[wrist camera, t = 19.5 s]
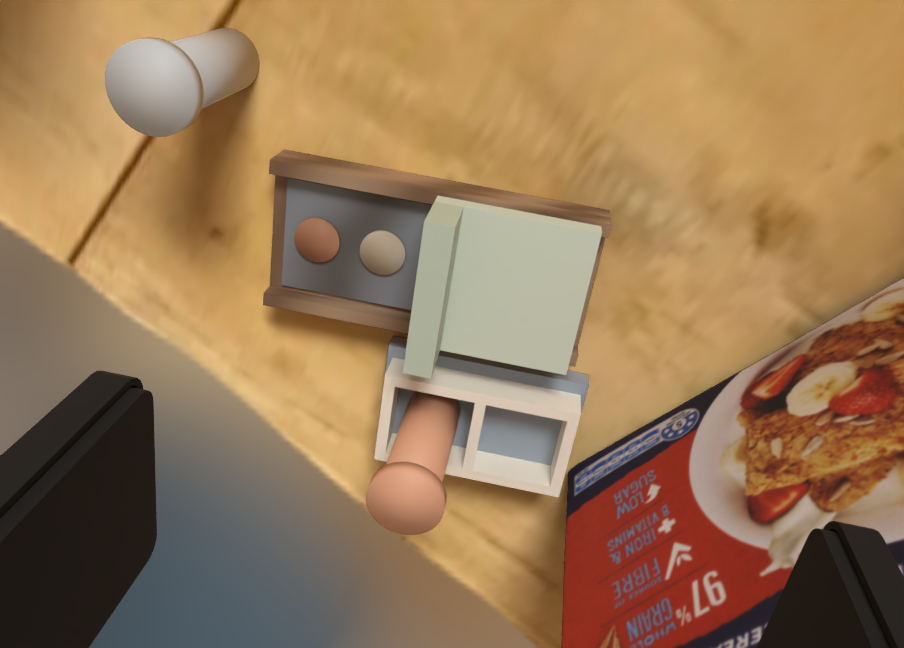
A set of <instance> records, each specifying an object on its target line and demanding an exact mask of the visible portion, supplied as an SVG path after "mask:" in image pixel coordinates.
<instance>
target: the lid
mask: <svg viewBox="0 0 904 648" xmlns="http://www.w3.org/2000/svg"><path fill="white" fill-rule="evenodd" d="M601 235H602V228H601V226H598V225H592V224H587V223H582V222H576V221H571V220H566V219H560V218H555V217H550V216H544V215H539V214H534V213H528V212H523V211H518V210H512V209H507V208H502V207H497V206H491V205H486V204H481V203H475V202H470V201H465V200H459V199H454V198H449V197H443V196H437V198H436V200H435V202H434V204H433V205H432V207H431V209H430V211H429V213H428V215H427V217H426V219H425V221H424V226H423V233H422V240H421V247H420V254H419V261H418V268H417V275H416V282H415V289H414V296H413V304H412V311H411V318H410V325H409V332H408V339H407V346H406V353H405V360H404V367H403V373H405V374H409V375H414V376H419V377H424V378H429V379H431V377H432V374H433V371H434V368H435V365H436V362H437V358H438V355H439V352H440V350H442V351H447V352H452V353H457V354H462V355H467V356H472V357H477V358H482V359H487V360H492V361H497V362H502V363H507V364H512V365H517V366H522V367H527V368H532V369H537V370H542V371H547V372H552V373H557V374H563V375H566V374H567V370H568V366H569V363H570V359H571V355H572V351H573V347H574V343H575V339H576V335H577V331H578V327H579V323H580V319H581V315H582V311H583V307H584V303H585V299H586V295H587V291H588V287H589V283H590V279H591V275H592V271H593V267H594V263H595V259H596V255H597V251H598V247H599V243H600V239H601Z"/></svg>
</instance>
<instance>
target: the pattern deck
mask: <svg viewBox="0 0 904 648" xmlns="http://www.w3.org/2000/svg"><path fill="white" fill-rule="evenodd" d="M269 174H273V175H276V177H275V197H274V217H273V237H272V257H271V277H270V287H269V288H268V289H267V290H266V291H265V292H264V297H263V305H266V306H271V307H276V308H281V309H287V310H292V311H297V312H302V313H307V314H312V315H317V316H322V317H327V318H332V319H337V320H342V321H347V322H352V323H357V324H362V325H367V326H372V327H377V328H383V329H388V330H393V331H398V332H403V333H408V332H409V325H410V318H411V311H412V304H413V296H414V289H415V282H416V275H417V268H418V261H419V254H420V247H421V240H422V233H423V226H424V221H425V219H426V217H427V215H428V213H429V211H430V209H431V207H432V205H433V204H434V202H435V200H436V198H437V196H443V197H449V198H454V199H459V200H465V201H470V202H475V203H481V204H486V205H491V206H497V207H502V208H507V209H512V210H518V211H523V212H528V213H534V214H539V215H544V216H550V217H555V218H560V219H566V220H571V221H576V222H582V223H587V224H592V225H598V226H601V228H602V235H601V239H600V243H599V247H598V251H597V255H596V259H595V263H594V267H593V271H592V275H591V279H590V283H589V287H588V291H587V295H586V299H585V303H584V307H583V311H582V315H581V319H580V323H579V327H578V331H577V335H576V339H575V343H574V347H573V351H572V355H571V359H570V363H569V366H574V367H575V365H576V361H577V357H578V343H579V340H580V336H581V332H582V328H583V324H584V320H585V316H586V312H587V308H588V304H589V300H590V296H591V292H592V288H593V284H594V281H595V277H596V273H597V269H598V265H599V261H600V257H601V253H602V249H603V245H604V241H605V237H607V238H608V236H609V232H610V228H611V218H610V211H609V210H605V209H599V208H594V207H589V206H583V205H578V204H573V203H567V202H562V201H557V200H551V199H546V198H540V197H535V196H530V195H524V194H519V193H514V192H508V191H503V190H498V189H492V188H487V187H482V186H476V185H471V184H466V183H460V182H455V181H449V180H444V179H439V178H433V177H428V176H423V175H417V174H412V173H407V172H401V171H396V170H391V169H385V168H380V167H375V166H369V165H364V164H358V163H353V162H348V161H342V160H337V159H332V158H326V157H321V156H316V155H310V154H305V153H300V152H294V151H289V150H283V151H282V152H280V153H279V154H278V155H276V156H275V157H273V158H272V159H271V160H270V167H269Z"/></svg>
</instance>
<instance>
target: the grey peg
mask: <svg viewBox="0 0 904 648" xmlns="http://www.w3.org/2000/svg"><path fill="white" fill-rule="evenodd" d="M258 71H259V57H258V53H257V50H256V48H255V46H254V45H253V43H252V42H251V40H250V39H249V38H248V37H247V36H246V35H245V34H243V33H242V32H240V31H238V30H235V29H232V28H220V29H216V30H212V31H209V32H205V33H201V34H198V35H194V36H190V37H187V38H183V39H180V40H176V41H172V42H169V41H166V40H163V39H159V38H142V39H138V40H134V41H130V42H127V43H125V44H123V45H122V46H120V47H119V48H118V49H117V50H115V52H114V53H113V54H112V55H111V57H110V59H109V61H108V64H107V67H106V72H105V85H106V91H107V94H108V97H109V100H110V102H111V104H112V106H113V108H114V110H115V111H116V113H117V114H118V115H119V116H120V118H121V119H122V120H123V121H124V122H125V123H126V124H128V125H129V126H130V127H131V128H133V129H135V130H136V131H138V132H140V133H143V134H146V135H149V136H154V137H164V136H169V135H172V134H175V133H177V132H179V131H181V130H183V129H185V128H186V127H188V126H189V125H191V124H192V123H193V122H194V121H195V120H196V118H197V117H198V115H199V113H200V111H201V109H203V108H205V107H207V106H209V105H212V104H214V103H216V102H218V101H220V100H222V99H224V98H226V97H228V96H230V95H232V94H235V93H237V92H239V91H241V90H243V89H245V88H247V87H248V86H250V85H251V84H252V83H253V82H254V80H255V79H256V77H257V74H258Z"/></svg>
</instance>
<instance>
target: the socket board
mask: <svg viewBox="0 0 904 648" xmlns="http://www.w3.org/2000/svg"><path fill="white" fill-rule="evenodd" d="M406 346H407V339H406V338H401V337H396V336H393V337H392V339H391V342H390V344H389V348H388V355H387V363H386V371H385V378H384V386H383V394H382V401H381V409H380V417H379V424H378V432H377V440H376V449H375V456H374V459H376V460H380V461H385V462H387V460H388V457H389V455H390V452H391V449H392V447H393V444H394V441H395V438H396V436H397V433H398V430H399V428H400V425H401V422H402V420H403V417H404V414H405V412H406V409H407V406H408V404H409V401H410V398H411V396H412V395H413V394H414V393H415V392H416V391H419V392H424V393H428V394H433V395H438V396H443V397H448V398H453V399H457V400H458V402H459V404H460V409H461V412H460V417H459V421H458V425H457V429H456V433H455V437H454V441H453V444H452V448H451V452H450V456H449V460H448V464H447V468H446V471H445V474H448V475H453V476H458V477H462V478H467V479H472V480H477V481H482V482H487V483H491V484H496V485H501V486H506V487H511V488H516V489H520V490H525V491H530V492H535V493H540V494H544V495H549V496H554V497H559V494H560V491H561V487H562V483H563V479H564V476H565V472H566V468H567V465H568V461H569V457H570V453H571V450H572V446H573V442H574V438H575V435H576V431H577V427H578V424H579V420H580V416H581V412H582V409H583V405H584V401H585V397H586V394H587V390H588V386H589V380H588V374H583V373H578V372H573V371H568V370H567V374H566V375H563V374H557V373H552V372H547V371H542V370H537V369H532V368H527V367H522V366H517V365H512V364H507V363H502V362H497V361H492V360H487V359H482V358H477V357H472V356H467V355H462V354H457V353H452V352H447V351H442V350H440V352H439V355H438V358H437V362H436V365H435V368H434V371H433V374H432V377H431V379H429V378H424V377H419V376H414V375H409V374H405V373H403V367H404V360H405V353H406Z"/></svg>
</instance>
